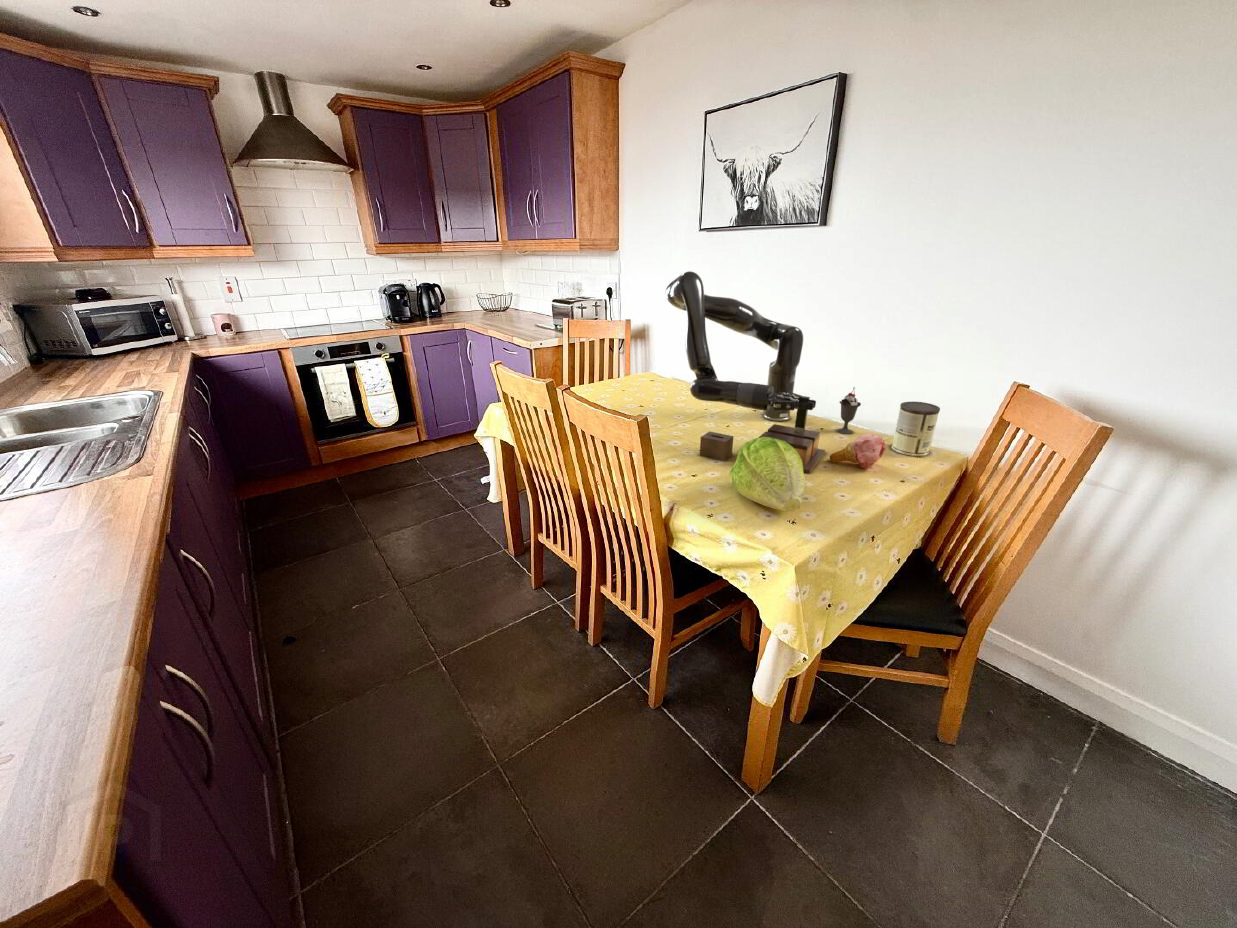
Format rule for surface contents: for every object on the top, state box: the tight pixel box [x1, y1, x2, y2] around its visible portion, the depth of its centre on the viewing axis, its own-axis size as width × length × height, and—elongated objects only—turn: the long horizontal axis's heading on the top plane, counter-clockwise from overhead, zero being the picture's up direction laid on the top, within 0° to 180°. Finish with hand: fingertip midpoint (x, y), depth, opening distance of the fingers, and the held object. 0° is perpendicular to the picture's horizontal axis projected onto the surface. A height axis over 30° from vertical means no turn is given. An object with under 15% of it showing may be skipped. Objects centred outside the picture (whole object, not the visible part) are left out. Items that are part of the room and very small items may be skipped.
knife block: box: [699, 431, 734, 462], centre depth 151 cm, size 8×6×6 cm
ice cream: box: [829, 433, 886, 469], centre depth 143 cm, size 11×10×15 cm
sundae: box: [836, 386, 862, 435], centre depth 167 cm, size 7×7×15 cm
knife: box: [793, 395, 811, 438], centre depth 145 cm, size 3×2×17 cm, turn 56°
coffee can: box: [891, 401, 941, 457], centre depth 151 cm, size 10×10×14 cm
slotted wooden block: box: [758, 423, 826, 474], centre depth 149 cm, size 18×18×7 cm
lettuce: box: [729, 437, 807, 513], centre depth 122 cm, size 17×24×14 cm
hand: (814, 405), depth 141 cm, fingers closed on knife, 1 cm apart
